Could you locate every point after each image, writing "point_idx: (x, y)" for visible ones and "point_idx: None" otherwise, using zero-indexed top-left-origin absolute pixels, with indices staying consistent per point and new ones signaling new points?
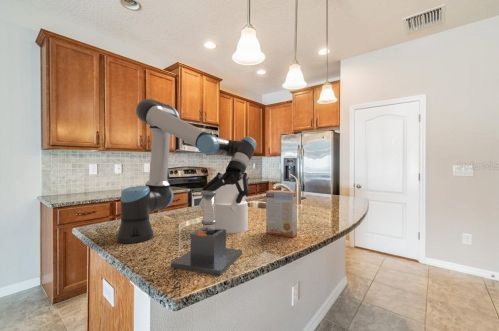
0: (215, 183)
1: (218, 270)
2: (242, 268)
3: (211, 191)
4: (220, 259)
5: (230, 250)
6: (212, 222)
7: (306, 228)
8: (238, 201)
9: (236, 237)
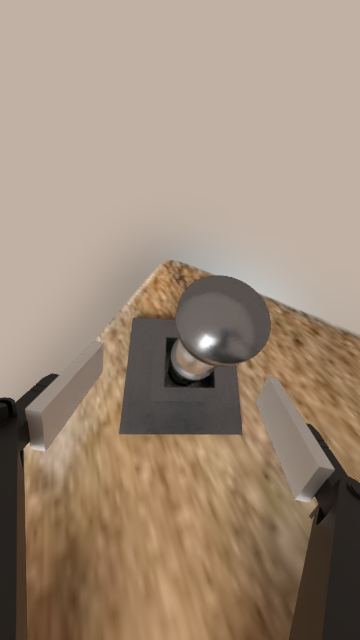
0: (357, 619)
1: (136, 318)
2: (103, 356)
3: (202, 312)
4: (151, 360)
5: (147, 420)
6: (174, 343)
7: None
8: (51, 377)
9: (184, 609)
